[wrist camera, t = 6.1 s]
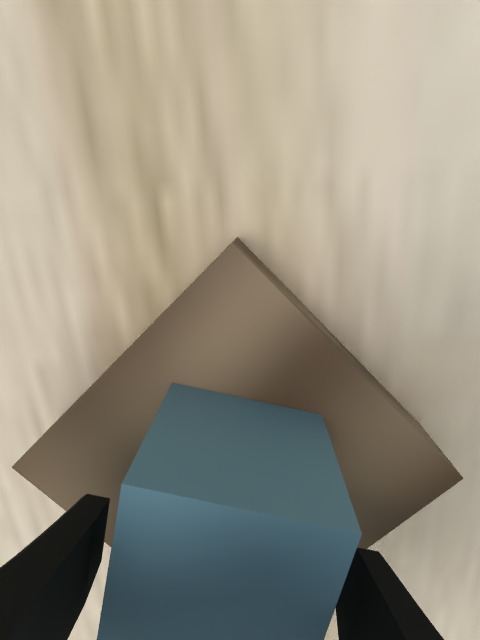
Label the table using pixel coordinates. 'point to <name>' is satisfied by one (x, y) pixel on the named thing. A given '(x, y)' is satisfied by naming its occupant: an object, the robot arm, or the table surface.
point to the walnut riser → (246, 382)
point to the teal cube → (229, 525)
